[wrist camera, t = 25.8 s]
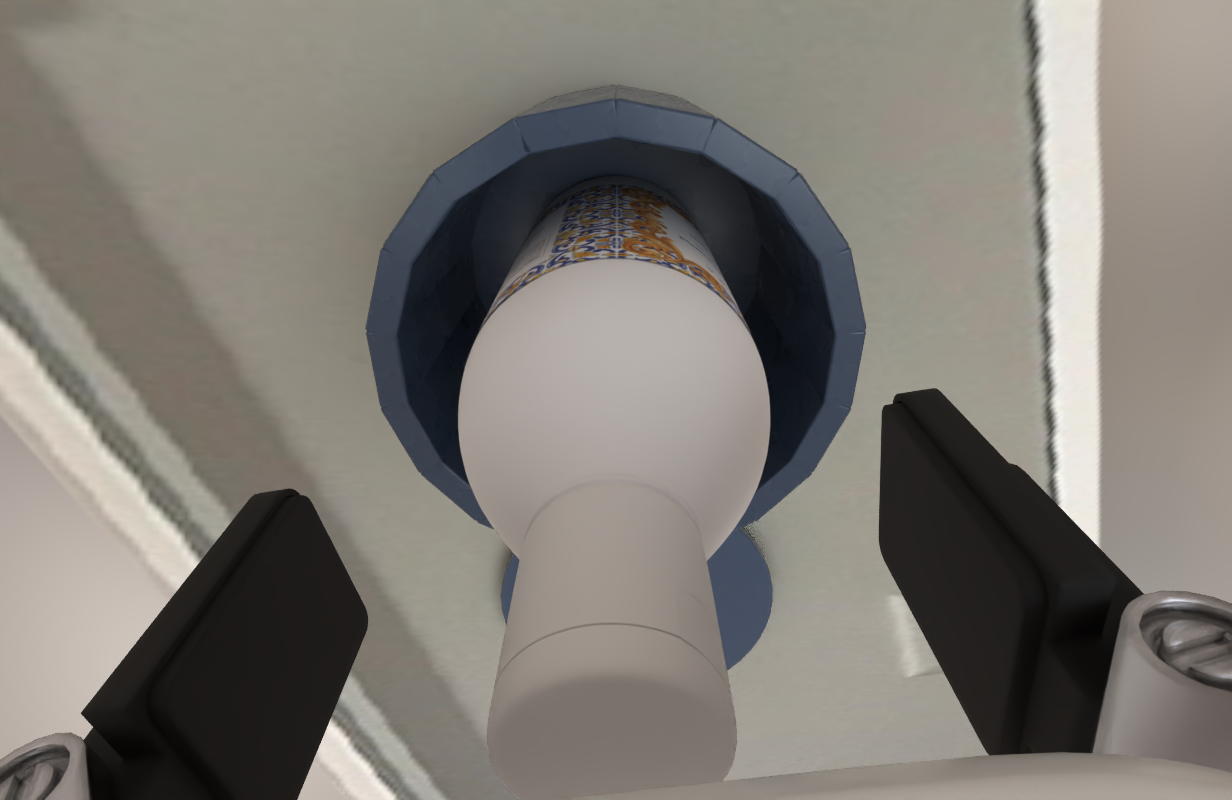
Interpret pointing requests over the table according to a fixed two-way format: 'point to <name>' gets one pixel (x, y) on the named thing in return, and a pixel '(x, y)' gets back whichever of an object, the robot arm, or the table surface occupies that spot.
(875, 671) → the table surface
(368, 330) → the tin
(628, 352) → the bath foam
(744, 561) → the tin lid
